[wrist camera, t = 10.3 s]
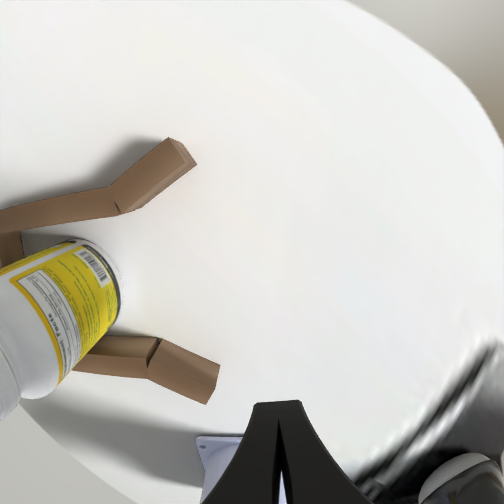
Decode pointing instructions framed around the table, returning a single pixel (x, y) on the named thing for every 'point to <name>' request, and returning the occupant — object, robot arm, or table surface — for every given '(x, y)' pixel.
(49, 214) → the wooden u-shaped bracket
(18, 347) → the pill bottle
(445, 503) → the dark grey egg-shaped device
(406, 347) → the table surface
